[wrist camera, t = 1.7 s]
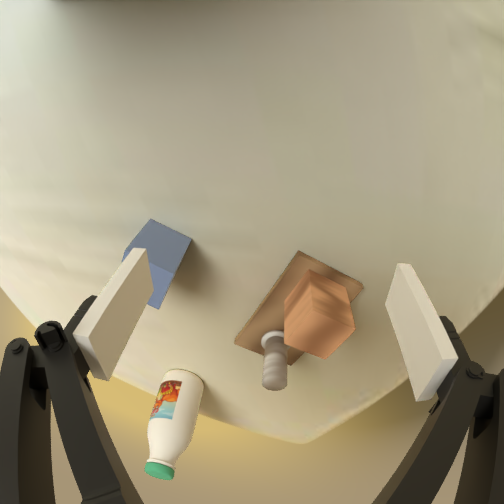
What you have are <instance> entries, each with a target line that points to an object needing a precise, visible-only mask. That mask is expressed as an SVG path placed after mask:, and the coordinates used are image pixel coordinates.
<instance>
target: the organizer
mask: <svg viewBox="0 0 504 504" xmlns="http://www.w3.org/2000/svg"><path fill="white" fill-rule="evenodd" d="M362 289H363V286H362V283H360V282H358V281H356V280H354V279H352V278H351V277H349V276H347V275H345V274H343V273H341V272H339V271H337V270H335V269H333V268H331V267H329V266H327V265H326V264H324V263H322V262H320V261H318V260H316V259H314V258H312V257H310V256H308V255H306V254H304V253H302V252H300V251H298V252H297V253H296V255H295V256H294V258H293V259H292V260H291V262H290V263H289V265H288V266H287V268H286V269H285V270H284V272H283V273H282V275H281V276H280V277H279V279H278V280H277V282H276V283H275V285H274V286H273V287H272V289H271V290H270V292H269V293H268V294H267V296H266V297H265V298H264V300H263V301H262V303H261V304H260V305H259V307H258V308H257V310H256V311H255V312H254V314H253V315H252V316H251V318H250V319H249V321H248V322H247V323H246V325H245V326H244V327H243V329H242V330H241V331H240V333H239V334H238V335H237V337H236V338H235V342H234V344H236V345H239V346H241V347H244V348H246V349H249V350H251V351H254V352H256V353H259V354H261V355H264V367H263V379H262V385H263V387H264V388H266V389H268V390H272V391H278V390H282V389H284V388H285V387H286V386H287V364H288V365H290V366H291V365H292V364H293V363H294V362H295V361H296V360H297V359H298V358H299V357H300V356H301V355H302V354H303V353H304V352H307V353H310V354H312V355H315V356H317V357H320V358H323V359H326V358H327V357H328V356H329V355H331V354H332V353H333V352H334V351H335V350H336V349H337V348H338V347H339V346H340V345H341V344H342V343H343V342H344V341H345V340H346V339H347V338H348V337H349V336H350V335H351V334H352V333H353V332H354V331H355V330H356V328H355V323H354V319H353V315H352V310H351V306H350V303H351V301H352V300H353V299H354V298H355V297H356V296H357V295H358V293H359V292H360V291H361V290H362Z"/></svg>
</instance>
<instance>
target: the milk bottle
mask: <svg viewBox="0 0 504 504" xmlns="http://www.w3.org/2000/svg"><path fill="white" fill-rule="evenodd" d="M203 389H204V385H203V382H202V380H201V379H200V378H199V377H198V376H197V375H195V374H193V373H191V372H189V371H186V370H180V369H174V370H170V371H168V372H167V373H166V374H165V375H164V377H163V380H162V383H161V386H160V389H159V392H158V395H157V398H156V401H155V404H154V407H153V410H152V413H151V417H150V420H149V424H148V432H147V433H148V441H149V447H150V457H149V459H148V460H147V463H146V466H145V472H146V473H147V474H149V475H151V476H153V477H156V478H159V479H164V480H171V479H173V477H174V470H175V467H174V465H175V463H176V461H177V459H178V458H179V456H180V455H181V454H182V453H183V451H185V449H186V448H187V447H188V445H189V443H190V441H191V439H192V436H193V432H194V428H195V424H196V419H197V416H198V411H199V407H200V403H201V398H202V394H203Z"/></svg>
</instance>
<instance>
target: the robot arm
mask: <svg viewBox="0 0 504 504" xmlns="http://www.w3.org/2000/svg"><path fill="white" fill-rule="evenodd" d="M153 291H154V288H153V283H152V278H151V273H150V267H149V262H148V256H147V250H146V248H133V249H132V250H131V252H130V253H129V254H128V256H127V257H126V258H125V259H124V261H123V262H122V263H121V265H120V266H119V268H118V269H117V270H116V272H115V273H114V274H113V276H112V277H111V278H110V280H109V281H108V283H107V284H106V285H105V287H104V288H103V290H102V291H101V292H100V294H99V295H98V296H94V295H92V296H90V297H89V298H87V299H86V300H85V301H84V302H83V303H82V304H81V306H80V307H79V310H77V311H76V313H75V314H74V316H73V317H72V318H71V320H70V321H69V323H68V324H67V326H66V327H65V329H64V330H63V328H62V326H61V324H60V323H58V322H57V321H48V322H45V323H43V324H41V325H40V326H39V327H38V328H37V330H36V331H35V335H34V336H35V338H36V340H37V342H38V344H39V346H30V344H29V343H28V341H27V340H26V339H25V338H16V339H14V340H12V341H11V342H10V343H9V344H8V345H7V347H6V349H5V353H4V358H3V363H2V367H1V372H0V504H56V503H55V495H54V486H53V475H52V462H51V461H52V460H51V433H50V431H51V430H50V418H51V401H52V405H53V409H54V413H55V417H56V421H57V424H58V428H59V431H60V435H61V438H62V442H63V445H64V448H65V451H66V454H67V458H68V461H69V463H70V466H71V469H72V472H73V475H74V477H75V480H76V483H77V485H78V487H79V490H80V493H81V495H82V499H83V501H82V502H81V504H144V503H143V501H142V500H141V498H140V496H139V494H138V493H137V491H136V489H135V487H134V485H133V483H132V481H131V479H130V477H129V475H128V473H127V471H126V469H125V467H124V466H123V463H122V461H121V459H120V457H119V455H118V453H117V451H116V448H115V446H114V444H113V442H112V439H111V437H110V435H109V433H108V430H107V428H106V425H105V423H104V421H103V418H102V415H101V413H100V410H99V408H98V405H97V402H96V400H95V397H94V394H93V391H92V388H91V385H90V383H89V380H88V378H87V374H88V372H89V370H90V371H91V372H92V375H93V376H94V378H98V379H102V380H106V381H109V379H110V377H111V375H112V373H113V371H114V369H115V366H116V364H117V362H118V360H119V358H120V356H121V354H122V352H123V350H124V348H125V346H126V344H127V342H128V340H129V338H130V336H131V334H132V332H133V330H134V328H135V326H136V324H137V322H138V320H139V318H140V316H141V314H142V312H143V310H144V308H145V306H146V304H147V303H148V301H149V299H150V297H151V295H152V293H153ZM385 306H386V309H387V311H388V314H389V317H390V320H391V323H392V325H393V328H394V331H395V334H396V337H397V340H398V343H399V346H400V349H401V352H402V356H403V359H404V362H405V365H406V368H407V372H408V375H409V378H410V382H411V385H412V389H413V392H414V396H415V399H416V401H423V400H431V399H432V397H433V396H434V394H435V393H436V391H437V394H438V397H439V399H438V400H437V402H436V403H435V404H434V406H433V407H432V408H431V410H430V411H429V413H430V415H429V416H428V418H427V420H426V422H425V424H424V426H423V427H422V429H421V431H420V433H419V434H418V436H417V438H416V440H415V441H414V443H413V445H412V446H411V448H410V449H409V451H408V453H407V454H406V456H405V457H404V459H403V461H402V462H401V464H400V465H399V467H398V468H397V470H396V471H395V473H394V474H393V475H392V477H391V478H390V480H389V481H388V483H387V484H386V486H385V487H384V488H383V490H382V491H381V492H380V494H379V495H378V496H377V498H376V499H375V501H373V503H372V504H431V503H432V501H433V499H434V498H435V496H436V494H437V492H438V491H439V489H440V487H441V485H442V483H443V481H444V479H445V477H446V476H447V474H448V472H449V470H450V468H451V466H452V464H453V462H454V459H455V457H456V455H457V453H458V451H459V449H460V446H461V444H462V442H463V440H464V437H465V435H466V432H467V430H468V427H469V433H468V440H467V446H466V452H465V458H464V463H463V468H462V472H461V477H460V481H459V486H458V490H457V493H456V497H455V501H454V504H504V369H502V370H501V372H500V373H499V374H498V375H494V374H488V373H485V371H484V369H483V368H482V367H481V365H479V364H478V363H476V362H473V361H471V360H470V358H469V356H468V354H467V352H466V350H465V348H464V345H463V344H462V341H461V340H460V339H459V338H460V337H459V335H458V333H456V329H455V327H454V325H453V323H452V322H451V321H450V320H449V319H448V318H447V317H446V316H438V314H437V312H436V310H435V308H434V306H433V304H432V302H431V301H430V299H429V297H428V295H427V293H426V291H425V289H424V287H423V286H422V284H421V282H420V280H419V278H418V277H417V275H416V273H415V271H414V269H413V268H412V266H411V264H405V263H397V267H396V270H395V274H394V277H393V280H392V284H391V287H390V290H389V293H388V297H387V300H386V303H385ZM469 425H470V426H469Z"/></svg>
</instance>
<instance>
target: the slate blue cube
mask: <svg viewBox="0 0 504 504" xmlns="http://www.w3.org/2000/svg"><path fill="white" fill-rule="evenodd" d="M191 240H192V239H191V238H189V237H187V236H185V235H183V234H181V233H179V232H177V231H175V230H173V229H171V228H168V227H166V226H164V225H162V224H160V223H158V222H156V221H154V220H152V219H150V220H149V221H148V222H147V224H146V225H145V226H144V227H143V228H142V230H141V231H140V232H139V233H138V235H137V236H136V237H135V238H134V240H133V241H132V242H131V243H130V245H129V246H128V247H127V248H126V250H125V252H124V256H123V259H122V262H123V261H124V259H125V258H126V257H127V256H128V254H129V253H130V252H131V250H132V249H133V248H146V250H147V256H148V262H149V267H150V273H151V278H152V283H153V288H154V291H153V293H152V295H151V297H150V299H149V301H148V303H147V304H148V305H150V306H152V307H154V308H156V309H159V308H160V306H161V304H162V302H163V299H164V297H165V295H166V293H167V291H168V289H169V287H170V285H171V283H172V281H173V279H174V276H175V274H176V272H177V270H178V268H179V266H180V264H181V261H182V259H183V257H184V255H185V253H186V250H187V248H188V246H189V244H190V242H191Z"/></svg>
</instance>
